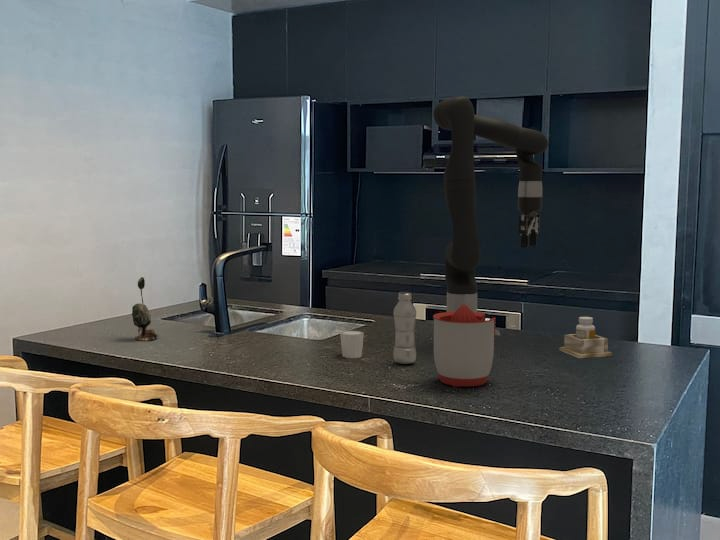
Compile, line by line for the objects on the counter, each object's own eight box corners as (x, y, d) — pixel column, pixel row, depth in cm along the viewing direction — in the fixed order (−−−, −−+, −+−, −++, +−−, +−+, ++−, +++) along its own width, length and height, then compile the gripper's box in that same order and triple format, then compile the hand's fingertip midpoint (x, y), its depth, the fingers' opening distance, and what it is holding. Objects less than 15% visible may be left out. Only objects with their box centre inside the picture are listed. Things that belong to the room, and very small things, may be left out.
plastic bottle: (418, 361, 216) (419, 291, 214) (412, 367, 210) (413, 295, 208) (397, 360, 219) (397, 290, 216) (390, 365, 212) (390, 294, 210)
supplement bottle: (592, 348, 230) (593, 316, 228) (596, 352, 224) (597, 319, 223) (573, 348, 230) (574, 316, 229) (577, 351, 225) (578, 319, 224)
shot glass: (367, 354, 226) (367, 331, 225) (357, 359, 219) (357, 335, 219) (346, 352, 228) (346, 329, 228) (336, 357, 222) (336, 333, 221)
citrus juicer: (511, 387, 189) (513, 307, 187) (446, 392, 185) (447, 310, 182) (483, 372, 204) (485, 298, 202) (423, 377, 199) (423, 301, 197)
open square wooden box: (578, 358, 221) (579, 341, 220) (559, 350, 231) (559, 334, 231) (612, 356, 223) (612, 339, 223) (591, 348, 234) (592, 332, 233)
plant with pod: (124, 341, 245) (122, 279, 242) (144, 335, 255) (142, 275, 253) (146, 343, 242) (144, 280, 240) (165, 336, 253) (164, 276, 251)
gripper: (534, 196, 236) (533, 248, 237) (548, 195, 248) (547, 245, 250) (511, 195, 239) (510, 247, 241) (525, 195, 252) (524, 244, 253)
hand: (528, 246), depth 245 cm, fingers open, 8 cm apart
